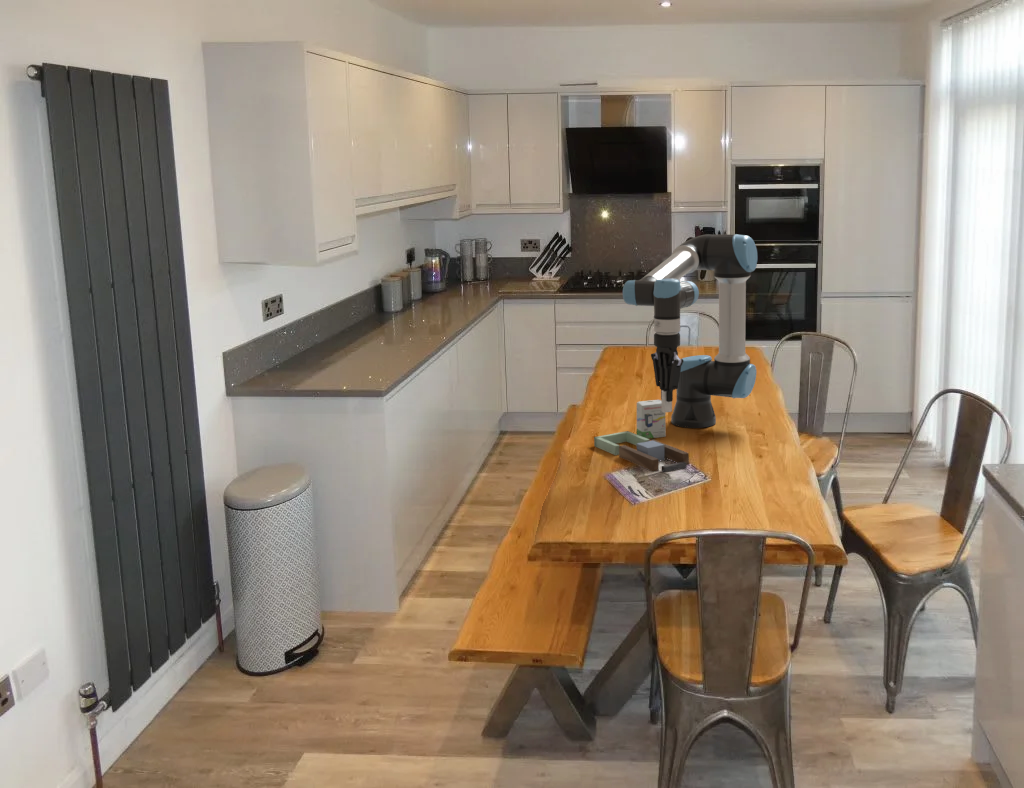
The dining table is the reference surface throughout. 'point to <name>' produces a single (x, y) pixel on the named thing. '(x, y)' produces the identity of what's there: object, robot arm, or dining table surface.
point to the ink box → (650, 419)
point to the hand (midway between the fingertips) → (666, 411)
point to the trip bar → (674, 466)
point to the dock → (617, 441)
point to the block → (652, 449)
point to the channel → (650, 461)
